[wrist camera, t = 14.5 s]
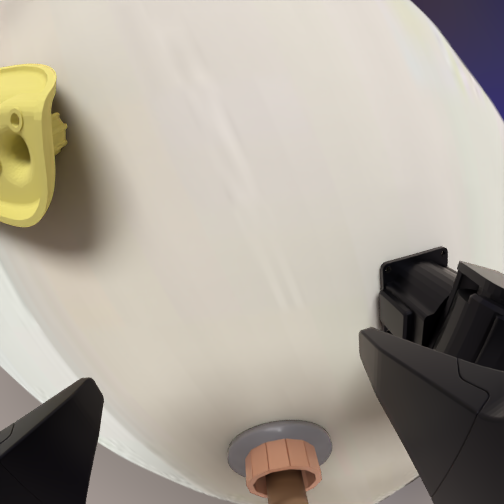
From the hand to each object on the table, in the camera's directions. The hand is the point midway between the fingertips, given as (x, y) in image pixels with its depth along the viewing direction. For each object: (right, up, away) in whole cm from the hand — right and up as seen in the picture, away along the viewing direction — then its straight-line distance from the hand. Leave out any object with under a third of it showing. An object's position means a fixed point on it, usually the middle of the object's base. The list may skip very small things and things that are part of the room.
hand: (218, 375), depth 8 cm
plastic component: (-19, +13, +8) cm, 25 cm away
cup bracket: (+4, -17, +18) cm, 25 cm away
